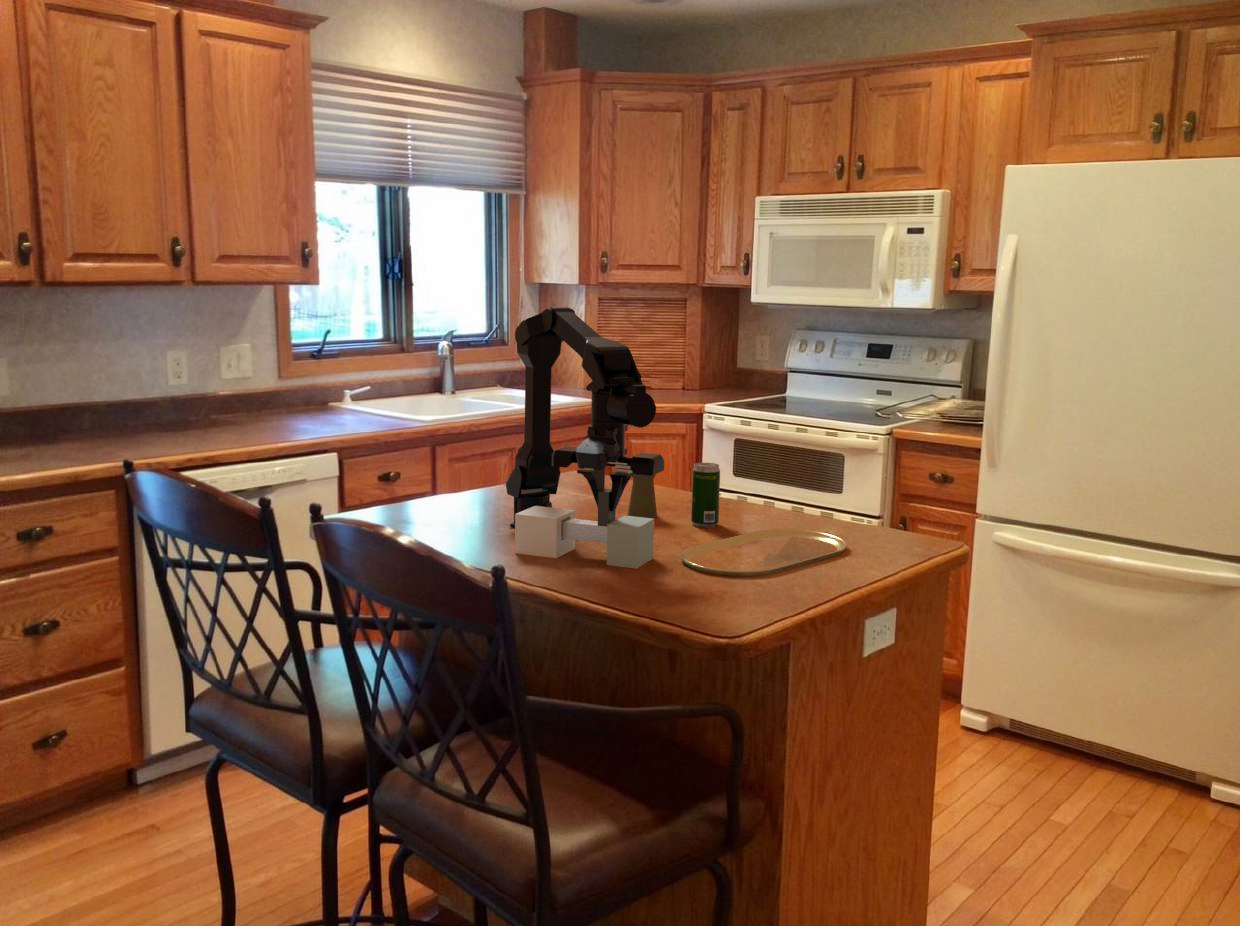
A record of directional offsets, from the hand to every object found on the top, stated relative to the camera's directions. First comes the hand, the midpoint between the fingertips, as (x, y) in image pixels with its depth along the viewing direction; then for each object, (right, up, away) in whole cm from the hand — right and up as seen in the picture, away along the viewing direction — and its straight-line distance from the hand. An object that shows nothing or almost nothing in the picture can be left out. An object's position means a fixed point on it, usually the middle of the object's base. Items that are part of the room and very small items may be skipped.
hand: (606, 510), depth 185 cm
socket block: (+4, -9, 0) cm, 10 cm away
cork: (+7, -3, +35) cm, 36 cm away
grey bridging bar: (-2, -5, +2) cm, 6 cm away
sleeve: (-11, -7, +6) cm, 14 cm away
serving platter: (+28, -9, +6) cm, 30 cm away
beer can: (+19, -4, +28) cm, 34 cm away
